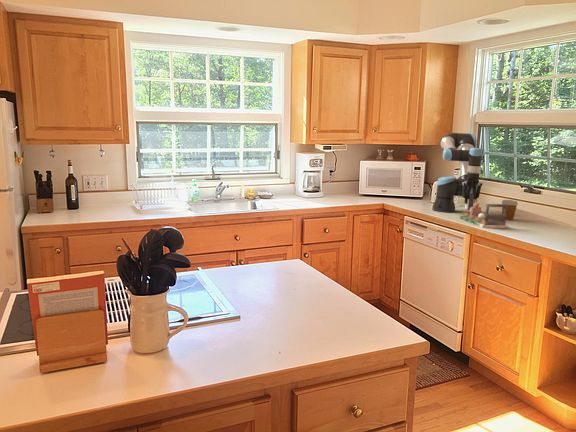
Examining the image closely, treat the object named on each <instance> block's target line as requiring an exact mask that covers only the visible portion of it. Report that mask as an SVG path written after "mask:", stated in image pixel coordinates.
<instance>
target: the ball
mask: <svg viewBox="0 0 576 432" xmlns="http://www.w3.org/2000/svg"><path fill="white" fill-rule="evenodd" d="M483 213H484V212H482V213H480V214H479V215H478V217H479V218H481V219H484V218H485V215H484V214H483Z"/></svg>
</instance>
